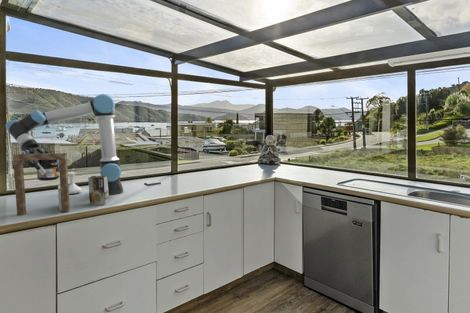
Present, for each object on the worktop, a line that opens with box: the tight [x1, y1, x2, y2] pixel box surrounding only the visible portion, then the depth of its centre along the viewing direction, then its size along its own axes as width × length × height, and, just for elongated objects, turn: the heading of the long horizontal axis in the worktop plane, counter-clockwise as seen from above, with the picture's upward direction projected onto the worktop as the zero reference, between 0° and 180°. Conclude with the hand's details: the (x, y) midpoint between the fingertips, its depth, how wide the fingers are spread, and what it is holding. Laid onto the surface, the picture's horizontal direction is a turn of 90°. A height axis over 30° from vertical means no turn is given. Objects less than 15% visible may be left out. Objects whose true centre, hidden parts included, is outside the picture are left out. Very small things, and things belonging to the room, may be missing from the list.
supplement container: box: [36, 160, 60, 182], centre depth 169 cm, size 10×10×12 cm
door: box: [57, 183, 62, 212], centre depth 166 cm, size 15×3×12 cm, turn 29°
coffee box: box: [87, 175, 110, 206], centre depth 176 cm, size 9×6×16 cm
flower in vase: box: [67, 156, 83, 195], centre depth 203 cm, size 13×11×25 cm
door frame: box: [12, 152, 71, 216], centre depth 156 cm, size 24×3×31 cm, turn 104°
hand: (52, 172), depth 168 cm, fingers closed on supplement container, 10 cm apart
